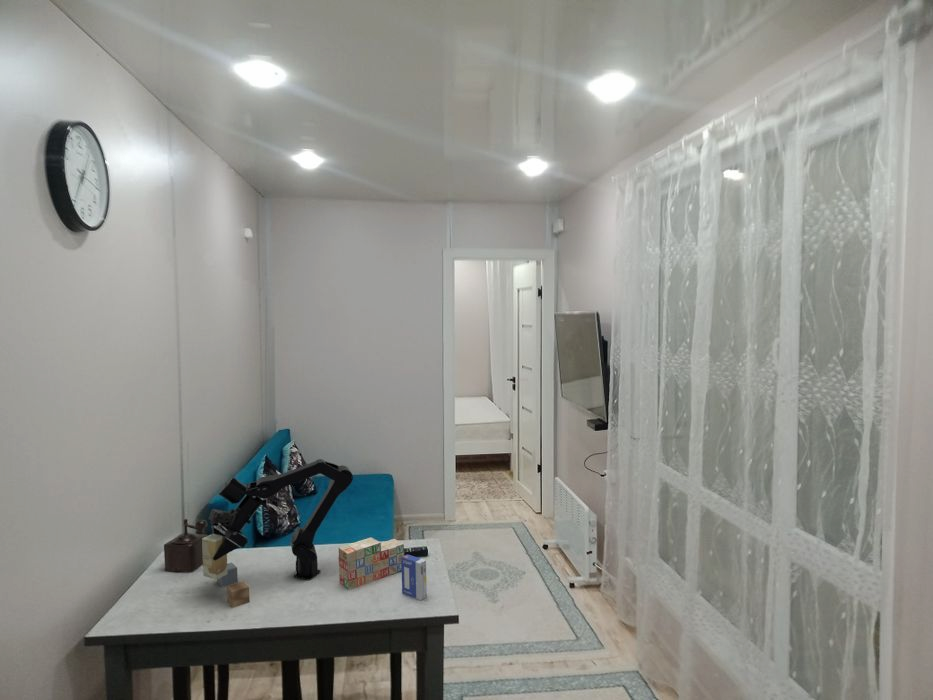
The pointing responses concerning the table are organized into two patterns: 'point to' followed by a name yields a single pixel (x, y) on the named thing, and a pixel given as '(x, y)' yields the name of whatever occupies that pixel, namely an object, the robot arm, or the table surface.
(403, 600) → the table surface
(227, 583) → the slate cube
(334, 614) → the table surface
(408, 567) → the walkman
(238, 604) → the walnut cube
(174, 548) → the manual coffee grinder
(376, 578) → the stack of blocks
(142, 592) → the table surface
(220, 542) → the skincare box
